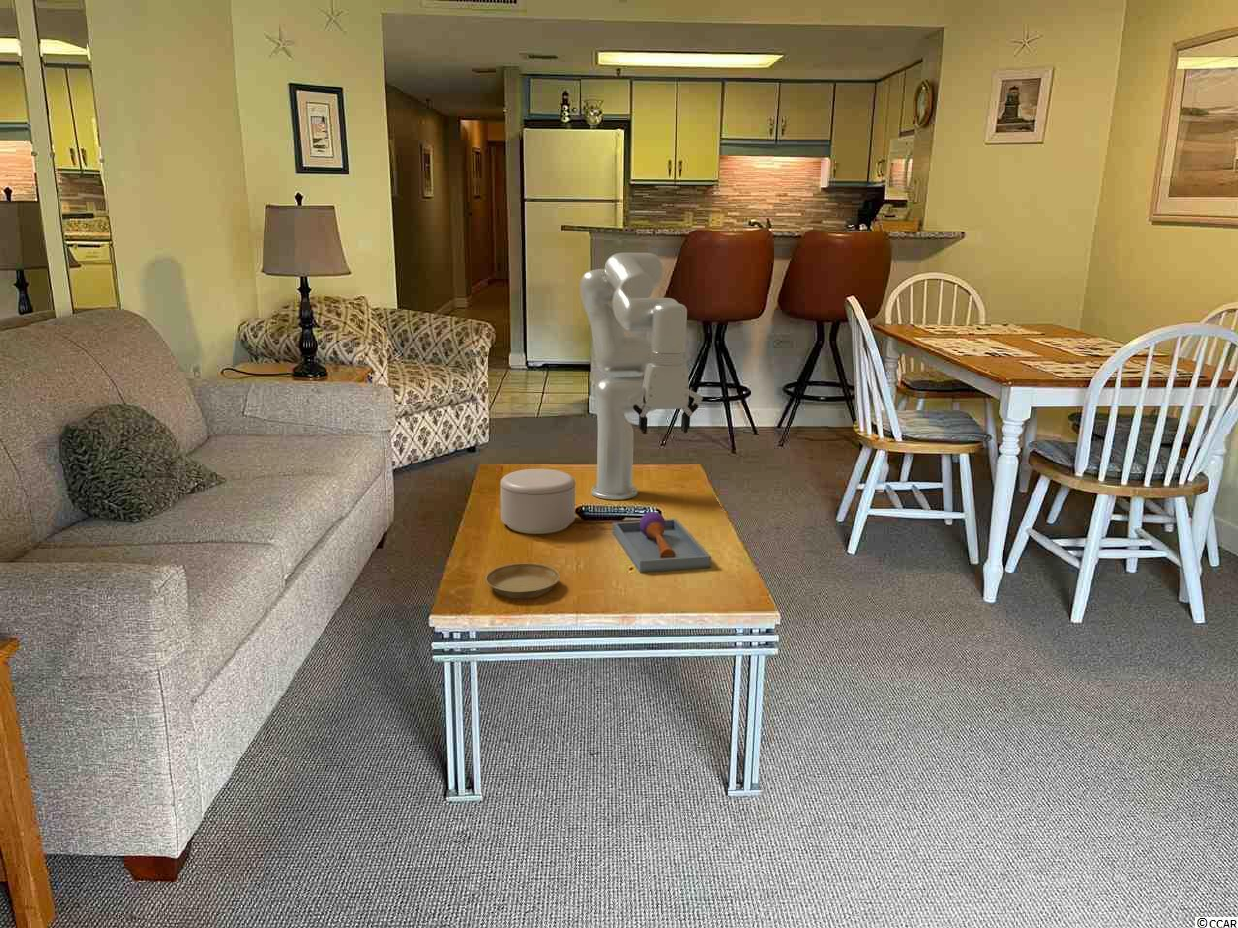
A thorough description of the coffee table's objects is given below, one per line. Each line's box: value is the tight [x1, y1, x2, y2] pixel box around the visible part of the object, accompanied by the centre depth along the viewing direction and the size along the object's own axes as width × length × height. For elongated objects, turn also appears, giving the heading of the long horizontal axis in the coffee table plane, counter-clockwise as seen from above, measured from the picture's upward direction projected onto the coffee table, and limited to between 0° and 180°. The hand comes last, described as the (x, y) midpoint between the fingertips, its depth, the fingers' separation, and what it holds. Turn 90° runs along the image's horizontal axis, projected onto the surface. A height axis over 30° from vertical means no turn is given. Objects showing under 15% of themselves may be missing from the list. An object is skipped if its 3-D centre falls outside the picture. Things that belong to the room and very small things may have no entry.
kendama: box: [639, 511, 676, 558], centre depth 208 cm, size 6×6×20 cm
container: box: [499, 468, 576, 535], centre depth 223 cm, size 18×18×12 cm
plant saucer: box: [485, 562, 561, 600], centre depth 186 cm, size 15×15×3 cm
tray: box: [611, 518, 712, 574], centre depth 208 cm, size 26×16×3 cm, turn 13°
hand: (663, 432), depth 213 cm, fingers open, 9 cm apart
